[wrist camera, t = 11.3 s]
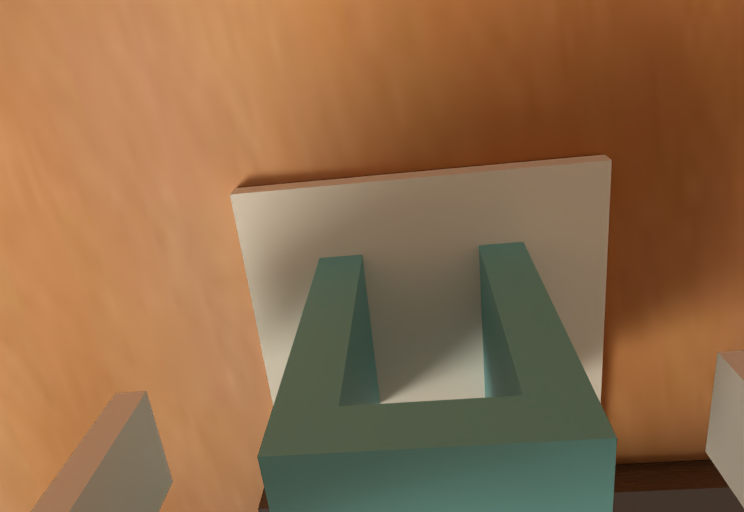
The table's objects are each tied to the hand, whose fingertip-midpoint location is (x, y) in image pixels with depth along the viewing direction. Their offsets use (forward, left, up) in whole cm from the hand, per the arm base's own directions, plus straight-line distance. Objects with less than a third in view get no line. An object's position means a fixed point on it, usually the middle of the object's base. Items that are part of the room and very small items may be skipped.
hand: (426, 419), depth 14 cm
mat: (0, 0, -4) cm, 5 cm away
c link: (0, 0, -4) cm, 4 cm away
